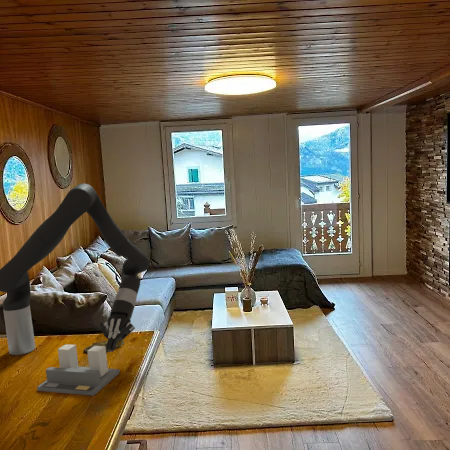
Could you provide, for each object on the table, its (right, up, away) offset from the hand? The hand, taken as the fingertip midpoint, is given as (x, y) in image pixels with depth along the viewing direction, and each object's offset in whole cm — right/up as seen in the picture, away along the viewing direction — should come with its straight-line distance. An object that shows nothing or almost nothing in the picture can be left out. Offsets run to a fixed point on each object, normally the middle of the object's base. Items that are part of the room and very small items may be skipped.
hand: (109, 350), depth 150 cm
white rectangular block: (-12, -6, -3) cm, 14 cm away
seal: (-7, -5, +20) cm, 22 cm away
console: (-7, -8, -6) cm, 12 cm away
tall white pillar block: (-2, -6, -6) cm, 8 cm away
